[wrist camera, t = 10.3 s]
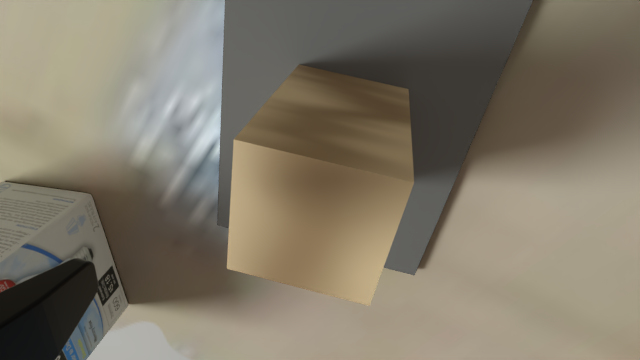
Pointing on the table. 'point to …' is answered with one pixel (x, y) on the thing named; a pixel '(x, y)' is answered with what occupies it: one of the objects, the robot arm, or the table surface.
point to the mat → (376, 79)
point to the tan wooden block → (321, 183)
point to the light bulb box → (59, 252)
